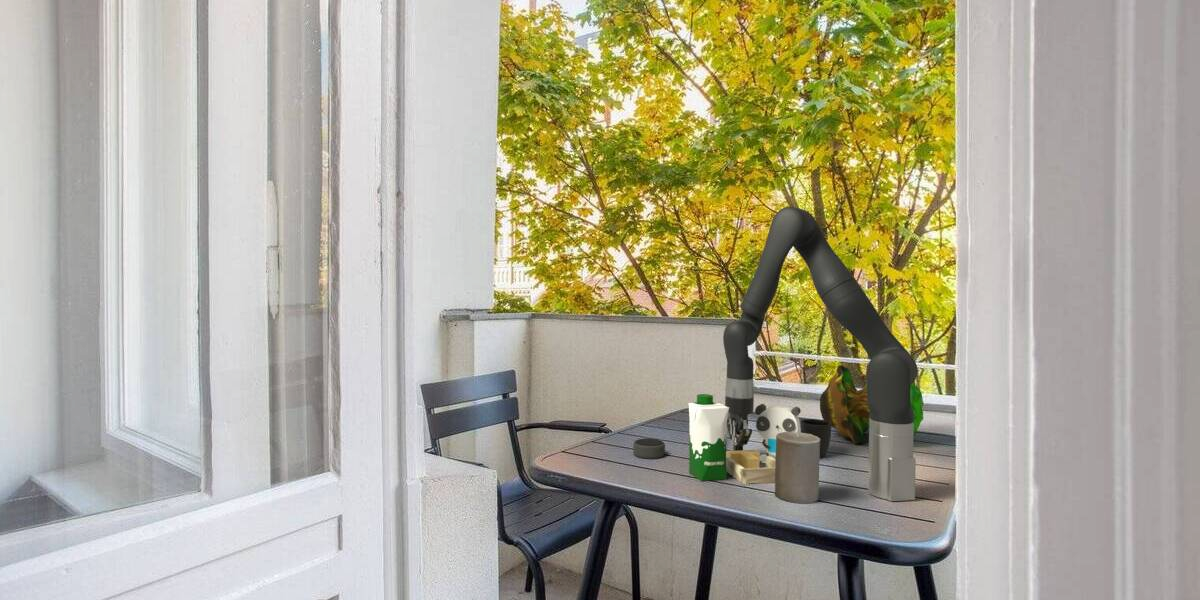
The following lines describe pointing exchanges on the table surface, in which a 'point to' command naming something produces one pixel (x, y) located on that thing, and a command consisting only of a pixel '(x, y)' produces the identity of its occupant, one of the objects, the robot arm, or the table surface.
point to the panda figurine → (775, 425)
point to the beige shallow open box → (752, 472)
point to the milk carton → (707, 438)
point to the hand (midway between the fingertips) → (737, 458)
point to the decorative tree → (856, 406)
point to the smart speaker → (649, 448)
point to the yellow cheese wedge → (745, 458)
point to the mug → (818, 432)
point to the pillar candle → (797, 467)
